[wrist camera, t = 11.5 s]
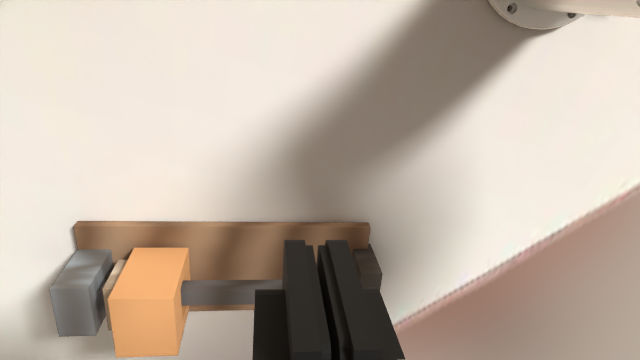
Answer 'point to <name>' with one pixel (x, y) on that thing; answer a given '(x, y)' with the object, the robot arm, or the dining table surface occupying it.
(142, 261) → the sleeve
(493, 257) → the dining table surface
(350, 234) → the rod slider toy
